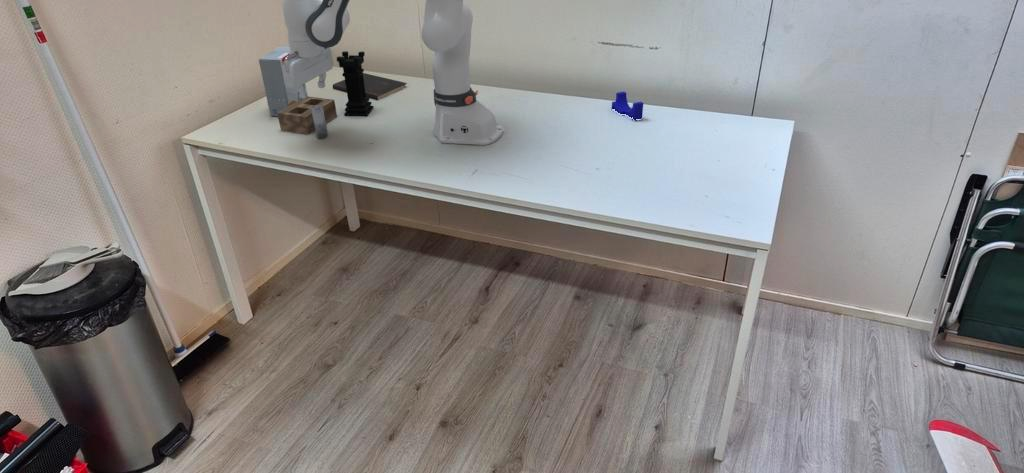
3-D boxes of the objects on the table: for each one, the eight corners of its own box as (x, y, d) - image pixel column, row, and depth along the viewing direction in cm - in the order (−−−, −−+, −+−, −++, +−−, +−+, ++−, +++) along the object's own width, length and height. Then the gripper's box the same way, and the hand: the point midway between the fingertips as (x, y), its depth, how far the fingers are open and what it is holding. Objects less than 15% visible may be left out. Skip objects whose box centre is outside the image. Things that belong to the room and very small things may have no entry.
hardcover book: (363, 78, 258) (362, 72, 257) (407, 88, 247) (406, 82, 246) (333, 90, 247) (332, 84, 246) (377, 101, 236) (376, 95, 235)
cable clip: (611, 110, 224) (612, 93, 221) (622, 108, 226) (624, 91, 222) (630, 122, 215) (631, 105, 212) (641, 120, 216) (643, 103, 213)
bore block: (337, 116, 223) (334, 99, 220) (309, 134, 211) (305, 117, 208) (310, 112, 227) (306, 96, 224) (281, 130, 214) (277, 113, 211)
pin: (330, 135, 210) (325, 105, 205) (324, 139, 207) (318, 109, 202) (320, 133, 211) (315, 104, 206) (314, 138, 208) (308, 108, 203)
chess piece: (373, 107, 230) (365, 51, 219) (367, 116, 223) (358, 58, 212) (351, 107, 230) (342, 50, 220) (344, 116, 224) (334, 58, 213)
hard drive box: (290, 117, 223) (278, 60, 213) (269, 116, 224) (256, 59, 214) (309, 101, 236) (299, 46, 226) (289, 100, 237) (278, 45, 227)
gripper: (292, 59, 185) (301, 105, 192) (333, 39, 201) (340, 83, 208) (274, 56, 187) (283, 102, 194) (316, 37, 203) (323, 80, 210)
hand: (313, 92), depth 201 cm, fingers open, 8 cm apart
